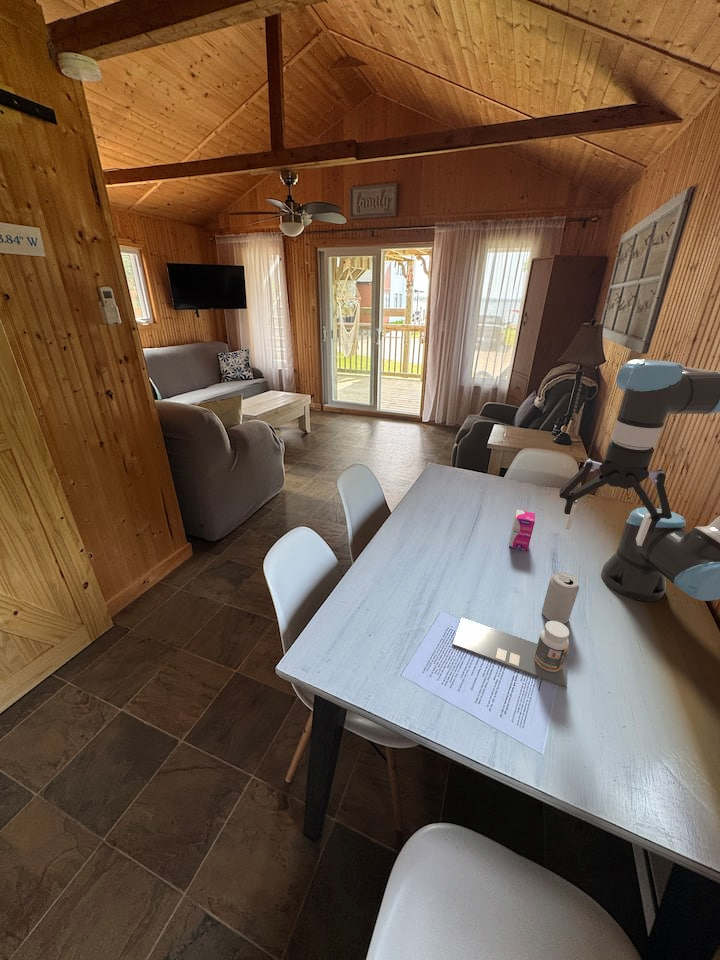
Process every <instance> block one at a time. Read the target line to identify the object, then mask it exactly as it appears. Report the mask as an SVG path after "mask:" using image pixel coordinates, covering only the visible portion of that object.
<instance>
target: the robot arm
mask: <svg viewBox="0 0 720 960" xmlns="http://www.w3.org/2000/svg"><path fill="white" fill-rule="evenodd" d="M615 381H616V385H617V387H618V389H620V391H623V396H622V400H621V403H620V407H619V410H618V414H617V416H616V421H615V423H614V426H613V429H612V433H611V436H610V437H611V440H610V441H609V443H608V446H607V449H606V451H605V452H606V453H605V454H604V455H605V456H604V458H603V460H602V461H601V462H598V461H595V460H593V459H592V458H586V459H585V461H584V464H583V466H582V467H581V468H580V469H579V470H578V471H577V473H575V474H574V475H573V476H572V477H571V478H570V479H569V480H568V482H566V484H564V485H563V486H562V487H561V488H560V490H559V495H558V496H559V498H561V499H563V500H564V499H565V505H564V508H563V509H564V511H563V512H564V514H565V515H567V517H566V518H567V519H566V522H565V529H566V530H567V531H568V530H569V531H570V529H571V526H572V523H573V520H574V515H575V512H576V508H577V506H578V505H577V504H578V502H577V501H578V500H579V499H581V498H583V497H585V496H586V495H588V494H590V493H592V492H593V491H595V490H596V489H598V488H601V487H603V486H606V485H609V486H610V487H614V488H615V487H616V488H617V487H619V488H622V489H625V490H628V489H631V488H632V489H633V490H634V492H635V493H636V494H637V495H638V497H639V499H640V500H641V502H642V503H643V505H644V507H643V506H642V507H637V508H635V509H633V510H632V511H631V512H630V514H629V516H628V517H627V520H626V521H625V522H626V523H624V524H625V525H624V528H623V529H622V530H623V531H622V534H621V537H620V539H619V540H620V541H619V543H618V546H617V549H616V551H615V553H614V554H613V555H612V556H611V557H610V558H609V559H608V560H607V561H606V562H605V563H604V564H603V567H602V569H601V572H600V573H601V574H600V575H601V578H602V580H603V582H604V583H605V584H606V585H607V586H608V587H610V589H612V590H613V591H615V592H617V593H618V594H620V595H623V596H624V597H627V598H630V599H632V600H638V601H641V602H656V601H659V600H660V599H662V598H663V597H664V595H665V592H666V589H667V582H666V581H667V580H669V581H670V582H671V583H672V584H673V585H674V586H675V588H677V589H678V590H681V591H683V592H684V593H685V594H686V595H688V596H689V597H691V598H692V599H695V600H697V601H698V600H699V601H703V602H705V601H707V602H710V601H717V600H720V515H719V516H718V517H717V518H714V520H713V521H711V523H710V524H708V525H706V526H695V527H694V528H692V529H691V530H690V531H689V532H688V531H687V530H686V529H684V528H685V527H686V526H687V524H686V523H687V522H686V519H685V517H683V516H682V515H680V514H678V513H676V512H674V511H672V510H671V508H670V503H669V500H668V496H667V492H666V487H665V483H666V478H667V476H666V474H665V471H664V470H663V469H657V470H656V471H655V470H649V466H650V464H651V461H652V457H653V456H654V452H655V449H654V447H656V446H657V444H658V442H659V441H658V440H659V438H660V436H661V433H662V430H663V427H664V425H665V422H666V420H667V417H668V415H678V414H679V415H687V414H688V415H690V414H691V415H692V414H694V415H696V414H699V415H700V414H701V415H710V414H716V413H718V414H719V413H720V371H716V370H709V369H703V368H696V367H689V366H684V365H683V364H681V363H678V362H674V361H670V360H669V361H668V360H654V359H653V360H652V359H645V358H643V359H641V358H635V359H631V360H629V361H626V363H624V364H623V365H622V366H621V367H620V369H619V370H618V373H617V375H616V380H615ZM597 469H598V470H599V472H600V474H598V475H597V476H595V477H594V478H592V479H591V480H589V481H588V482H586V483H584V484H583V485H581V486H580V487H578V488H576V487H577V486H578V485H580V484H581V482H582V481H583V480H584V479H585V478H587V476H589V474H590V472H594V471H595V470H597ZM648 478H650V479H651V482H652V483H654V485H655V488H656V489H655V490H656V492H657V496H658V500H659V501H658V502H659V504H660V508H657V507H656V505H654V502H653V501H652V500H651V498H650V496H649V495H648V493H647V492H646V490H645V489H644V487H643V485H642V483H641V482H644V481H645V480H646V479H648ZM575 488H576V489H575ZM574 489H575V490H574ZM666 579H667V580H666Z"/></svg>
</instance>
